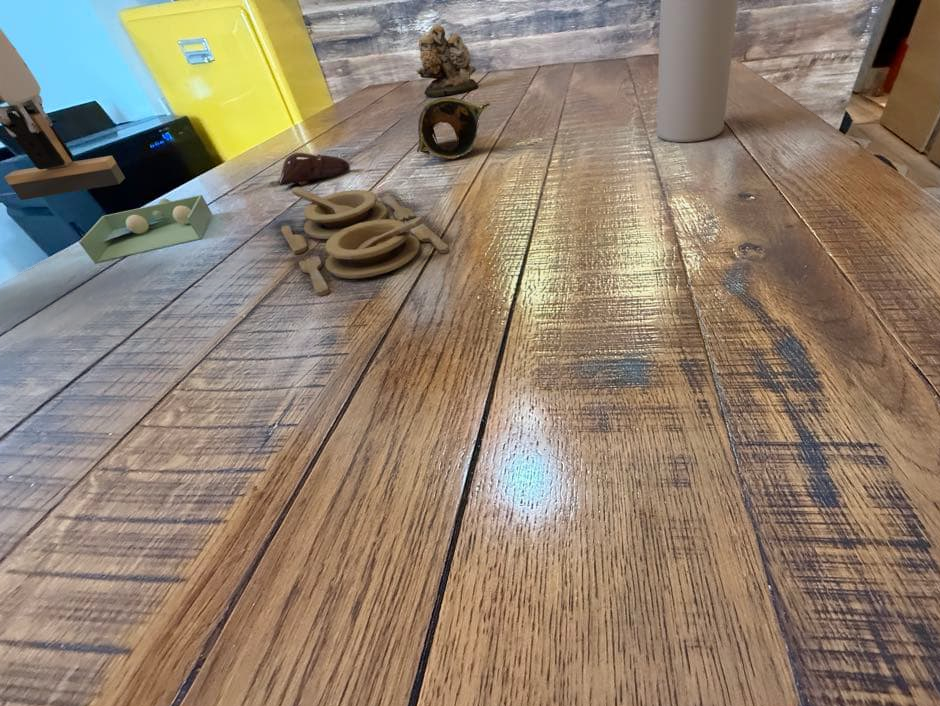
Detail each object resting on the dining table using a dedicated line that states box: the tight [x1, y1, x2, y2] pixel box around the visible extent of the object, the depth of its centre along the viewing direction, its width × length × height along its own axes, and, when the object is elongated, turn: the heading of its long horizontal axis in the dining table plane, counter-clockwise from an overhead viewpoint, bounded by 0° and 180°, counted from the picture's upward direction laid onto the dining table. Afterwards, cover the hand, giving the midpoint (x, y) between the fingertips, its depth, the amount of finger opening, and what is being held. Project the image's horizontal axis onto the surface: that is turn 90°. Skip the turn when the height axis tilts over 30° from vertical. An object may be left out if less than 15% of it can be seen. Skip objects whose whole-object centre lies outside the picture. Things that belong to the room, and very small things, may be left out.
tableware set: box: [280, 186, 450, 297], centre depth 76 cm, size 30×20×6 cm, turn 30°
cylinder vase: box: [655, 0, 739, 143], centre depth 91 cm, size 12×12×25 cm
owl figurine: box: [416, 24, 479, 98], centre depth 153 cm, size 18×12×17 cm, turn 115°
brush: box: [3, 113, 126, 201], centre depth 68 cm, size 12×3×9 cm, turn 109°
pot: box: [416, 96, 491, 160], centre depth 106 cm, size 17×11×18 cm
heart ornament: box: [279, 151, 351, 187], centre depth 104 cm, size 6×12×11 cm
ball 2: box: [173, 206, 191, 225], centre depth 92 cm, size 3×3×3 cm
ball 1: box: [126, 215, 150, 234], centre depth 91 cm, size 3×3×3 cm
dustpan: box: [78, 194, 213, 264], centre depth 91 cm, size 19×17×4 cm
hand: (56, 162), depth 68 cm, fingers closed on brush, 2 cm apart
